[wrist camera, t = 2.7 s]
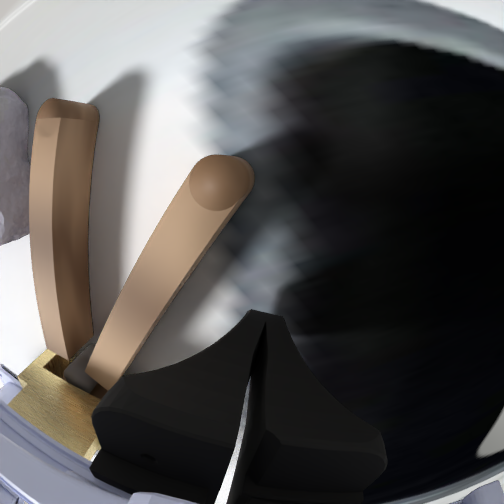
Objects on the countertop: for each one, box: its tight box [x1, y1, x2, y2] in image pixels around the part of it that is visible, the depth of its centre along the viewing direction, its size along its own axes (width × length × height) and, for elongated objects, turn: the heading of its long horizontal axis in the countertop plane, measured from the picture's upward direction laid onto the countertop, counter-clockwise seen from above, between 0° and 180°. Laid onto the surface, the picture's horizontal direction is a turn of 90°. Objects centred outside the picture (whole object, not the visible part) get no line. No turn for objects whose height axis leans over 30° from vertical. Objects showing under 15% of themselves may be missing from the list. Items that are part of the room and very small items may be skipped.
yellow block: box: [7, 349, 101, 461], centre depth 11 cm, size 3×7×6 cm, turn 79°
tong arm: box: [85, 155, 255, 390], centre depth 11 cm, size 12×2×2 cm, turn 144°
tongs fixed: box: [29, 98, 108, 400], centre depth 12 cm, size 18×4×2 cm, turn 169°
